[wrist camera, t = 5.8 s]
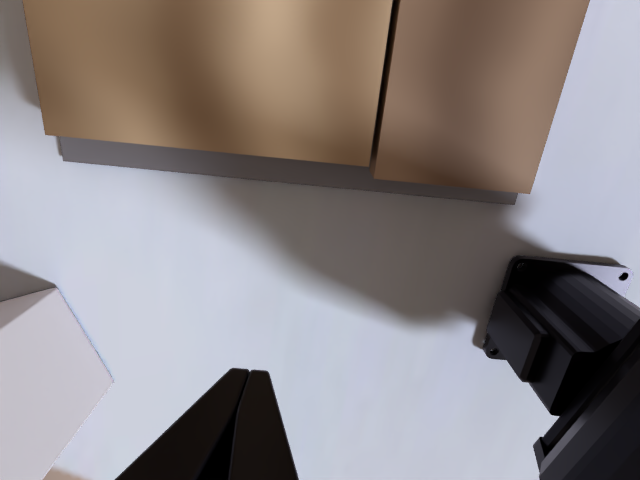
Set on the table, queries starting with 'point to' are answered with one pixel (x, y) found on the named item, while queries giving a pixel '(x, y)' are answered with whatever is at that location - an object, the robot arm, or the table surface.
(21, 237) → the table surface
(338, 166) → the underlay mat
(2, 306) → the milk carton
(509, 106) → the walnut plank
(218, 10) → the oak plank
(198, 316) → the table surface
